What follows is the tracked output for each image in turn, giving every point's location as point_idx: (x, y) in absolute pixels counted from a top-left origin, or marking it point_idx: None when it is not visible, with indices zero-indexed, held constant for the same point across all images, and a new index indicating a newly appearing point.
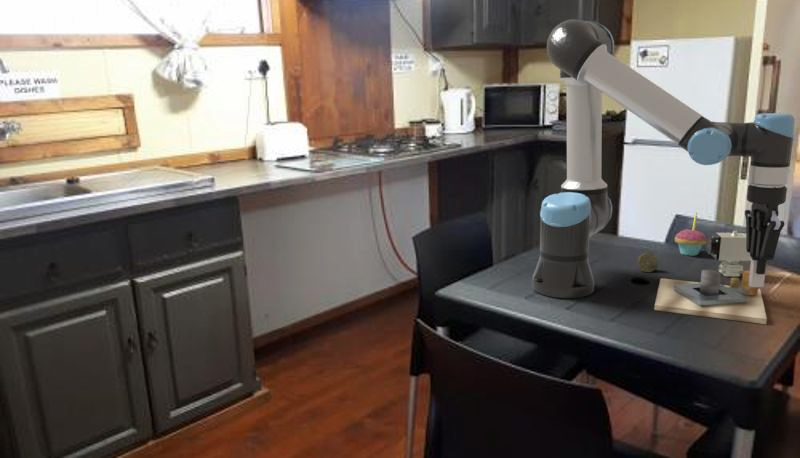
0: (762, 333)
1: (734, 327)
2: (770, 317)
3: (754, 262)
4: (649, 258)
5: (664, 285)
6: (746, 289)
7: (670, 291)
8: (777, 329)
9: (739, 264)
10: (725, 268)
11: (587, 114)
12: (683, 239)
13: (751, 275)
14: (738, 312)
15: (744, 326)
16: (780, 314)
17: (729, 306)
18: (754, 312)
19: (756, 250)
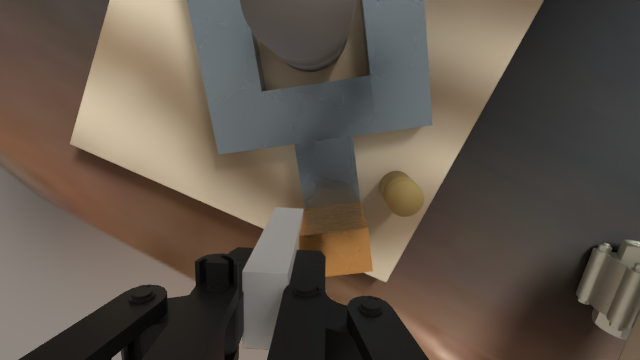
0: (2, 86)
1: (43, 11)
2: (151, 189)
3: (248, 265)
4: None
5: None
6: (320, 203)
7: None
8: (46, 155)
9: (623, 327)
10: (631, 264)
11: None
12: None
13: (276, 226)
14: (126, 69)
15: (58, 54)
16: (181, 235)
17: (192, 66)
18: (132, 132)
19: (210, 322)
